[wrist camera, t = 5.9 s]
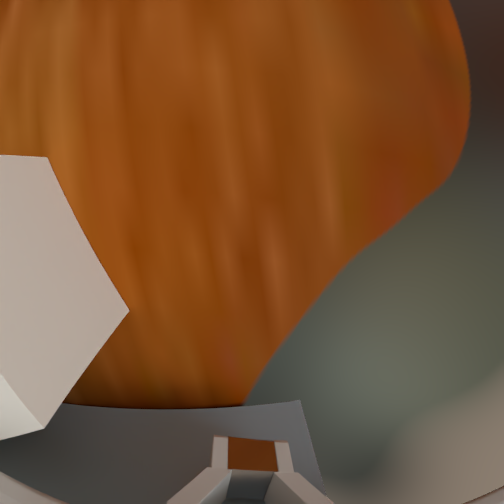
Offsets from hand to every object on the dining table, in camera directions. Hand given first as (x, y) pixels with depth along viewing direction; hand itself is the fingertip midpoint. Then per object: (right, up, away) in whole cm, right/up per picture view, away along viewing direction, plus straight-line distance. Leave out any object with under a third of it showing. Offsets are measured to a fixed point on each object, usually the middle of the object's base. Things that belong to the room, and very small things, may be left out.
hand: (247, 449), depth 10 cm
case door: (-7, -2, +4) cm, 9 cm away
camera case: (-13, +5, +3) cm, 14 cm away
